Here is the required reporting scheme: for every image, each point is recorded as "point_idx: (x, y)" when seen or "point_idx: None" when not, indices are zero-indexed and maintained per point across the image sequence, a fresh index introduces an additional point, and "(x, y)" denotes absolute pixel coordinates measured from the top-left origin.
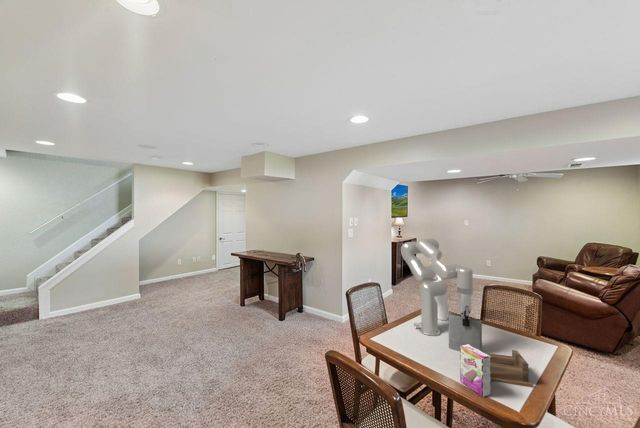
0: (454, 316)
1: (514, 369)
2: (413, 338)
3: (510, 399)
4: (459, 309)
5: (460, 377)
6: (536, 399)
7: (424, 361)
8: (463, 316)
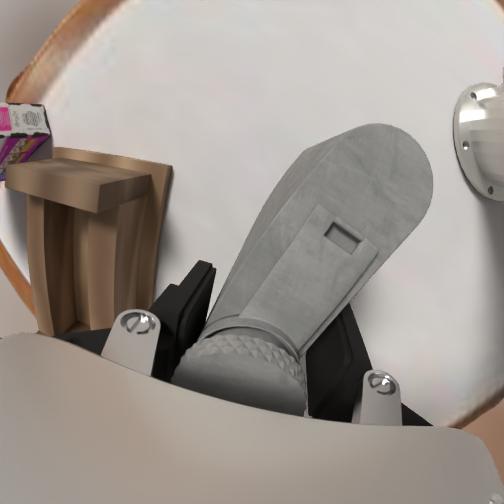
0: (378, 239)
1: (35, 308)
2: (410, 8)
3: (7, 224)
4: (169, 429)
5: (32, 104)
6: (24, 290)
7: None
8: (116, 335)
